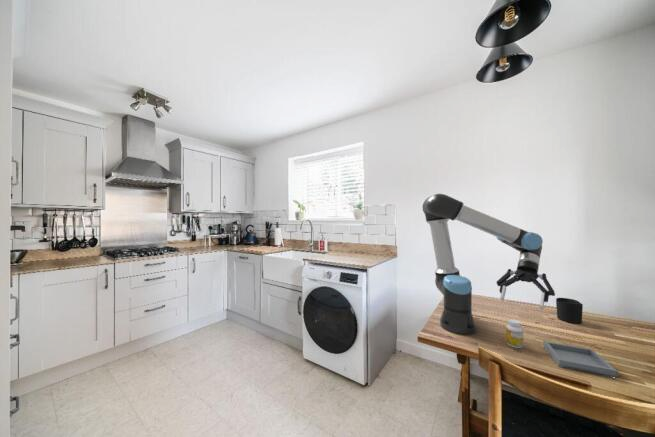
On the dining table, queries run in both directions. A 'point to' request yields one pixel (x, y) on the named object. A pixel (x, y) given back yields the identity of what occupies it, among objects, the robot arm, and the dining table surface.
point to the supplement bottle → (514, 334)
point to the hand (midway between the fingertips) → (520, 303)
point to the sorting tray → (579, 359)
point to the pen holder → (569, 310)
